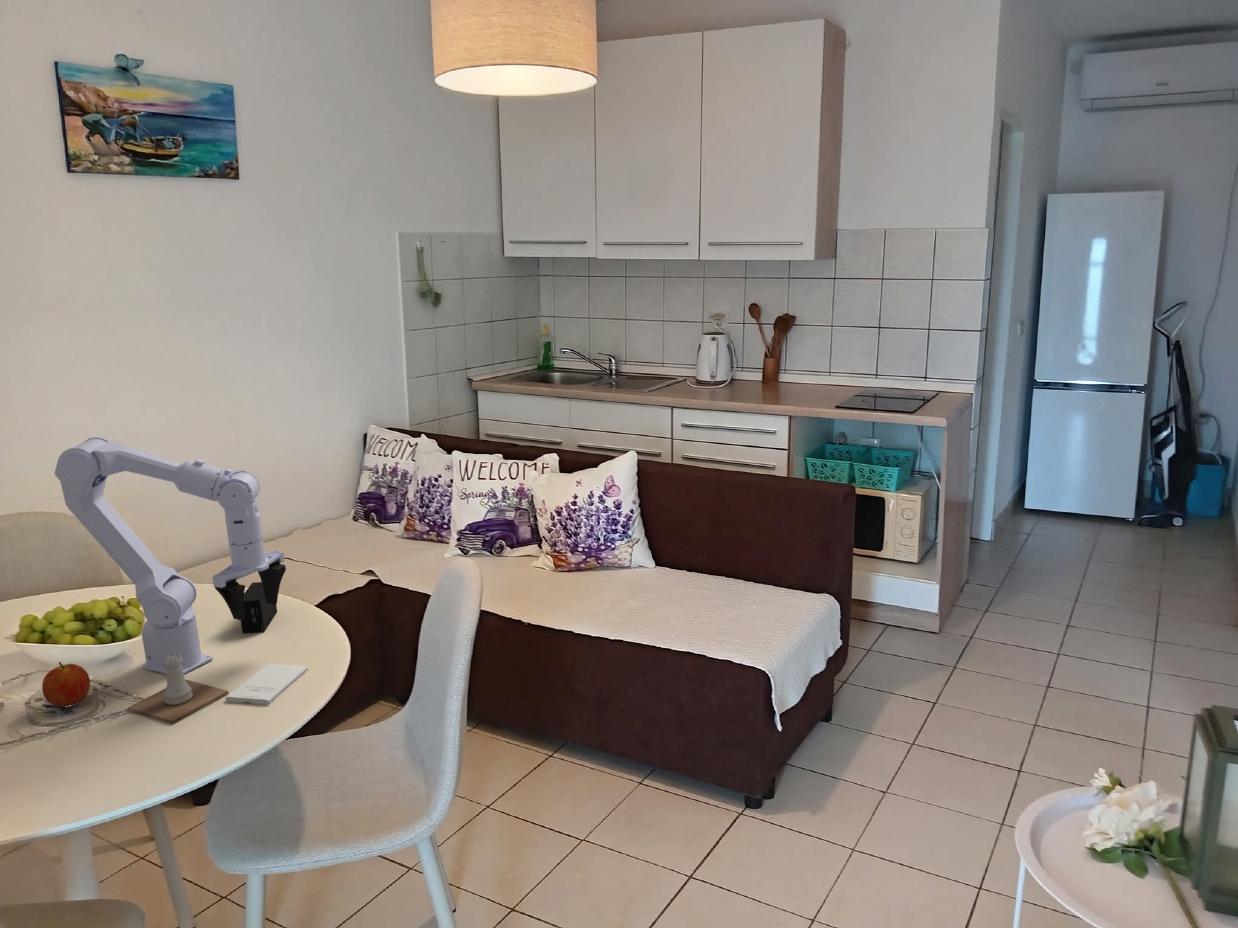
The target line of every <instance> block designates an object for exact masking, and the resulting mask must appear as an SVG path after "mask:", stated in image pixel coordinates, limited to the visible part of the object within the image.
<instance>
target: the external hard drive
mask: <svg viewBox="0 0 1238 928" xmlns="http://www.w3.org/2000/svg"><path fill="white" fill-rule="evenodd" d="M306 671H308V672H309V667H308V666H306V665H297V664H295V665H294V664H284V663H283V664H282V663H266V664H265V665H264V666H262V667H261V668H260V669H258V671H256V672H255V673H254V674H253V675H251V676H250V677H249V678H247V679H246V680H245V681H244V682H243V683H241V684H240V685H238V686H237V687H236V688H235V689H233V691H232V692H231V693H228V695H226V696H224V697H225V698H224V699H225V702H226V703H239V704H240V703H241V704H244V703H249V704H251V705H252V704H253V705H262V704H264V706H269V705H268V704H270V705H271V704H272V703H273V702H275V701H276V700H277V699H278V698H279V697H280V696H281V695H282V694H281V693H283V692H284V691H285V690H286V689H287V688H288V687H289V688H291V687H290V685H292V684H293V683H294V682H295V681H296V682H298V680H297V679H299V678H300V677H301V676H302V675H303V674H304V673H305V674H306ZM305 674H304V675H305ZM304 675H303V676H304ZM303 676H302V677H303ZM302 677H301V678H302ZM301 678H300V679H301ZM296 682H295V683H296ZM295 683H294V684H295ZM294 684H293V685H294ZM293 685H292V686H293ZM289 688H288V689H289ZM288 689H287V690H288ZM287 690H286V691H287ZM286 691H285V692H286ZM285 692H284V693H285ZM284 693H283V694H284ZM280 694H281V695H280ZM279 695H280V696H279ZM278 696H279V697H278ZM277 697H278V698H277ZM276 698H277V699H276ZM275 699H276V700H275ZM274 700H275V701H274ZM271 702H272V703H271ZM265 704H267V705H265Z"/></svg>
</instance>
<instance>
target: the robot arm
mask: <svg viewBox="0 0 1238 928" xmlns="http://www.w3.org/2000/svg"><path fill="white" fill-rule="evenodd" d="M205 463H206V461H205V460H203V459H202V458H201V459H200V458H197V459H196V460H191V459H190V460H187V461H185V462H183V463H178V462H176V461H172V460H169V459H166V458H164V457H161V456H158V455H155V454H152V453H149V452H146V451H144V450H142V449H139V448H138V449H137V448H135V447H131V446H129V445H126V444H124V443H123V442H121V441H117V440H109V439H107V438H105V437H101V436H94V437H93V436H92V437H90V438H88V439H86V440H84V441H83V442H82V443H80V444H78V445H75V446H73V447H70V448H68V449H65V450H64V451H63V452H61V454H60V455H59V457H58V459H57V462H56V466H55V471H54V476H55V477H56V479H58V480H59V482H60V487H61V491H62V495H63V499H64V503H65V506H66V507H67V508H68V510H69V511H70V512H71V513H72V515H74V516H75V518H76V519H77V520H78V521H79V522H80V524H81V525H82V526H83V527H84V528H85V529H86V530H87V531H88V533H89V534H90V535H91V536H92V537H93V538H94V540H95V541H97V543H98V544H99V545H100V547H102V549H103V550H104V551H105V552H106V553H107V555H108V556H109V557H111V559H112V560H113V561H114V562H115V564H116V565H117V566H118V567H119V568H120V569H121V570H122V572H124V574H125V575H126V576H127V577H128V578H129V579H130V581H132V583H133V584H134V586H135V599H136V600H137V602H138V603H139V604H140V606H141V607H142V610H143V611H142V612H143V614H144V617H145V619H146V621H145V623H144V625H143V627H142V631H141V638H142V639H141V640H142V643H143V644H142V645H143V650H144V655H145V661H146V663H144V664H142V669H146V670H149V671H152V672H156V673H161V674H164V675H167V674H166V673H165V670H166V667H165V666H163V665H162V662H163V660H164V657H165V656H166V655H167V654H169V656H172V655H171V653H175V655H176V653H179V654H180V656H181V657H182V658H183V661H182V663H181V666H182V667H183V669H182V671H183V675H184V674H186V673H188V672H190V671H193V670H194V669H196V668H199V667H201V666H202V665H204V664H206V663H208V662H210V661H212V660H213V659H214V657H213V656H211V655H208V654H204V653H202V650H201V643H200V638H199V637H200V636H199V631H198V626H197V619H196V612H195V610H194V609H193V603H194V602H195V601H196V599H197V588H196V586H195V584H194V583H193V582H192V580H190V579H189V578H186V577H184V576H182V575H181V574H179V573H178V572H177V571H176V569H174V568H173V567H170V566H166V565H163V564H162V563H161V562H160V561H159V560H158V559H157V558H156V556H155V555H154V554H153V553H152V551H150V549H149V548H148V547H147V546H146V545H145V543H144V542H143V541H142V540H141V539H140V537H138V535H137V534H136V533H135V532H134V530H133V529H132V528H131V527H130V526H129V525H128V524H127V523H126V521H125V520H124V519H123V518H122V516H120V514H119V513H118V512H117V511H116V509H114V507H113V506H112V505H111V504H110V503H109V502H108V501H107V499H106V498H105V496H104V492H105V488H106V483H107V479H108V477H109V476H111V475H112V476H113V475H115V474H118V473H122V472H129V473H132V474H137V475H140V476H141V475H142V476H146V477H151V478H153V479H154V478H155V479H158V480H163V481H167V482H171V483H173V484H174V485H175V487H176V488H177V490H178V491H179V492H181V493H184V494H188V495H191V496H194V497H199V498H201V499H205V500H209V501H211V502H212V501H213V502H218V504H219V506H221V507H222V508H223V510H224V516H225V518H224V519H225V525H226V532H227V539H228V540H227V541H228V547H229V554H230V559H231V560H230V561H231V565H229V566H227V567H226V568H224V569H223V570H221V571H220V572H218V573H216V574H214V575H212V583H213V587H214V589H215V591H216V592H218V593H219V595H220V597H222V599H223V600H224V602H225V604H226V605H227V607H228V609H229V611H230V613H231V615H232V618H233V620H236V621H237V620H238V621H240V620H243V619H244V617H245V612H244V593H245V591H246V590H245V589H246V585H245V584H239V582H237V580H239V579H242V578H244V577H247V576H249V575H251V574H254V573H256V572H257V573H258V576H259V578H260V582H262V585H263V590H264V596H265V600H266V603H268V604H273V605H275V604H276V605H277V604H278V598H279V591H280V586H281V583H282V579H283V577H284V575H285V572H286V570H287V567H286V564H284V562H285V555H284V552H285V551H284V550H283V551H282V550H273V551H269V552H267V553H266V552H265V545H264V538H263V536H264V535H263V530H262V522H261V513H260V511H259V505H258V503H259V502H258V499H256V498H257V497H258V496H259V493H260V482H259V480H258V479H257V478H256V476H255V475H253V474H251V473H250V472H248V471H246V470H237V471H235V472H233V469H231V468H225V469H221V468H219V467H216V466H211V465H208V464H205Z"/></svg>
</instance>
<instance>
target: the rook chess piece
mask: <svg viewBox="0 0 1238 928" xmlns="http://www.w3.org/2000/svg"><path fill="white" fill-rule="evenodd" d="M171 655H172V656H169V654H167V655H166V656H165V657H164V660H163V662H162V665H163V666H165V667H166V670H165V673H166V674H165V675H166V687H165V688H166V690H165V692H164V697H165V699H164V701H165V703H167V704H168V705H180V704H183V703H185V702H187V701H189V700H190V699H191V697H192V695H193V693H192V692H191V690H192V689H191V687H190V686H189V685H188V683H187V682H186V681H185V679H186V678H185V676H184V674H183V671H182V669H183V667H182V666H181V663H182V661H183V658H182V657H181V656H180V654H179V653H176V655H175V653H171Z"/></svg>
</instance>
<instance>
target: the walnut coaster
mask: <svg viewBox="0 0 1238 928" xmlns="http://www.w3.org/2000/svg"><path fill="white" fill-rule="evenodd" d="M185 681H186V682H187V683H188V685H189V686H190V687H191V689H192V690H191V692H192V693H193V695H192V697H191V699H190V700H189V701H187V702H185V703H183V704H180V705H168V704H167V703H165V701H164V699H165V697H164V692H165V690H166V687H165V688H163V689H162V690H159V691H158V692H156V693H154V694H151V695H150V696H148V697H146V698H143V699H142V700H140V701H137V702H136V703H134V704H132V705H130V706H127V711H128V712H131V713H134V714H138V715H141V716H143V717H144V716H145V717H148V718H151V719H153V720H156V721H157V720H158V721H160V722H164V723H167V724H171V725H175V724H176V723H179V722H180V721H182V720H184V719H185V718H187V717H189V716H191V715H193V714H195V713H196V712H198V711H200V710H203V709H204V708H206V707H207V706H210V705H211V704H212V703H214V702H216V701H219V700H221V699H222V698H224V697H226V696H228V695H229V691H228V690H227V689H224V688H220V687H215V686H212V685H208V684H205V683H200V682H196V681H193V680H190V679H186V678H185Z"/></svg>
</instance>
